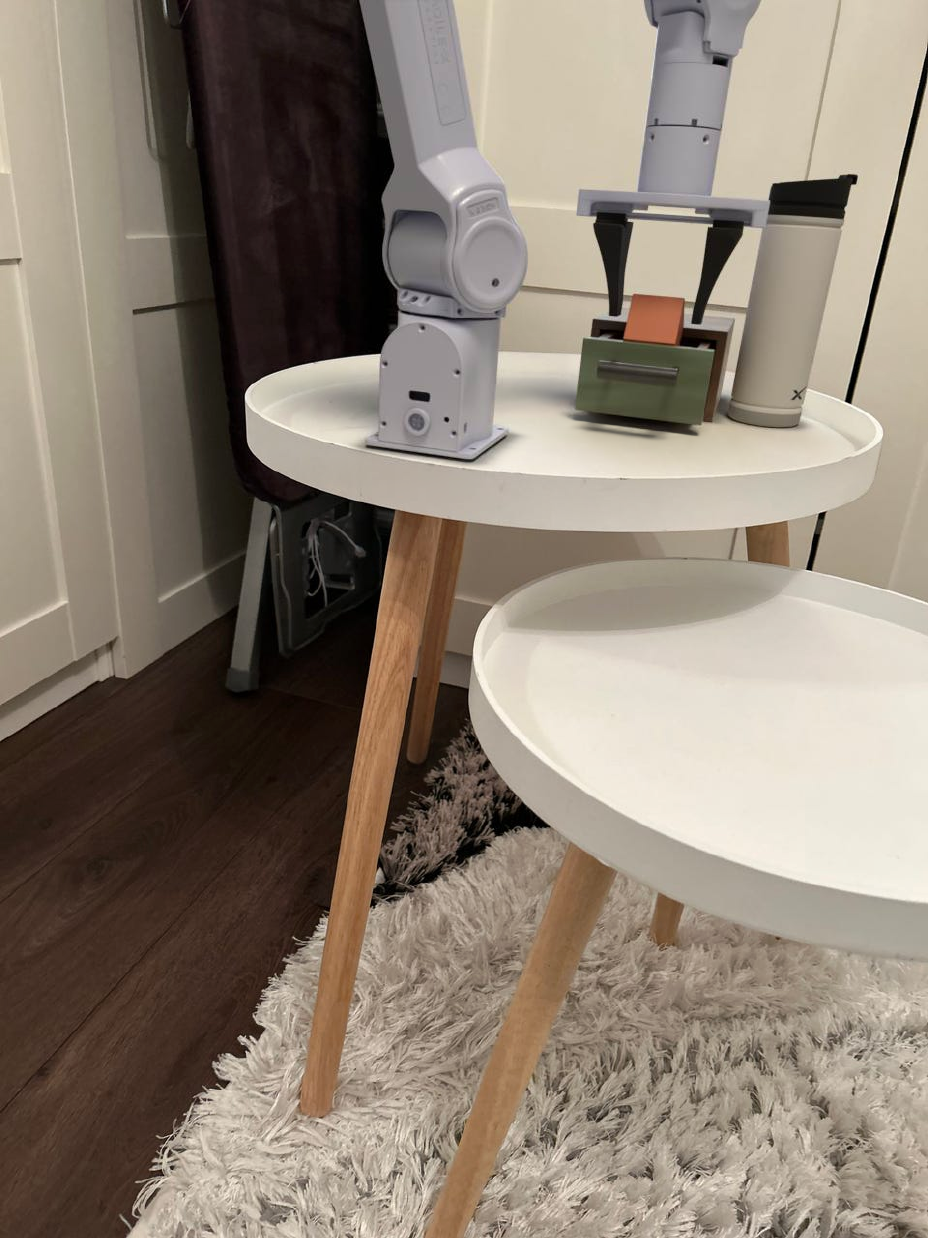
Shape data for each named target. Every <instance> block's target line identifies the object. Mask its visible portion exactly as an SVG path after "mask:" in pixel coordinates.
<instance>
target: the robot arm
mask: <svg viewBox="0 0 928 1238" xmlns="http://www.w3.org/2000/svg"><path fill="white" fill-rule="evenodd" d="M761 2H762V0H643V5H644V11H645V15H646V17H647V20H648V23H649V24H650V26H651V27H653V28H655V29H656V37H655V45H654V53H653V61H652V68H651V69H652V70H651V78H650V84H649V92H648V101H647V108H646V115H645V123H644V130H643V137H642V145H641V151H640V152H641V154H640V160H639V168H638V176H637V184H636V191H630V190H629V191H628V190H627V191H625V190H607V189H606V190H605V189H588V188H587V189H586V188H585V189H584V188H579V189H578V196H577V205H576V207H577V208H576V216H578V217H588V218H589V217H590V218H594V217H595V220H594V221H595V222H593V223H592V228H593V232H594V233H593V234H594V236H595V238H596V242H597V245H598V248H599V251H600V255H601V259H602V263H603V268H604V273H605V279H606V287H607V295H608V297H607V298H608V312H609V316H614V317H617V316H619V315H621V311H622V308H623V305H624V304H623V303H624V293H625V278H626V270H627V269H626V268H627V262H628V255H629V250H630V244H631V239H632V235H633V228H634V221H629V220H640V221H654V222H668V223H669V222H670V223H683V224H684V223H685V224H699V225H712V226H707V231H706V238H705V245H704V253H703V259H702V267H701V274H700V280H699V283H698V289H697V293H696V296H695V300H694V305H693V308H692V313H691V314H692V321H691V324H697V325H700V324H701V323H702V319H703V315H704V316H705V311H706V308H707V306H708V302H709V300H710V297H711V295H712V293H713V290H714V288H715V286H716V284H717V281H718V279H719V277H720V275H721V273H722V272H723V270H724V268H725V266H726V264H727V262H728V260H729V259H730V258H731V255H732V254H733V252H734V250H735V249H736V247H737V245H738V244H739V242H740V241H741V239H742V237H743V236H744V229H745V228H753V229H754V228H755V229H762V228H766V223H767V217H768V212H769V207H770V200H768V199H758V198H757V199H755V198H740V197H727V196H726V197H725V196H713V195H712V194H713V193H712V192H713V188H714V187H713V186H714V180H715V173H716V168H717V161H718V156H719V149H720V144H721V138H722V130H723V125H724V120H725V112H726V107H727V102H728V101H727V100H728V95H729V88H730V82H731V76H732V72H733V71H732V70H733V64H734V59H735V57H737V56H738V55H739V52H740V50H741V49H743V45H744V39H745V34H746V29H747V27H748V25H749V22H750V21H751V20H752V18H753V17H754V15H755V14H756V13H757V11H758V9H759V7H760V4H761ZM359 5H360V10H361V14H362V19H363V23H364V29H365V33H366V39H367V42H368V46H369V52H370V56H371V57H370V58H371V61H372V65H373V66H372V67H373V70H374V75H375V80H376V85H377V89H378V93H379V98H380V102H381V103H380V104H381V107H382V112H383V117H384V122H385V127H386V131H387V136H388V139H389V145H390V150H391V155H392V159H393V163H394V166H393V167H394V168H393V171H392V173H391V175H390V177H389V180H388V182H387V183H386V186H385V189H384V191H383V193H382V195H381V204H382V209H383V213H384V219H385V221H384V222H385V223H384V225H385V227H384V228H385V229H384V236H383V241H382V248H381V249H382V254H381V255H382V263H383V267H384V271H385V273H386V276H387V278H388V280H389V281H390V283H391V284H392V285H393V287H394V288H395V289H396V290H397V299H396V301H397V302H396V305H397V306H398V309H399V310H397V313H398V314H397V328H396V329H394V330H393V331H392V332H391V333H390V334H389V336H388V337H387V339H386V340H385V342H384V344H383V346H382V348H381V352H380V356H379V371H378V372H379V375H378V378H379V379H378V381H379V382H378V384H379V385H378V422H377V423H378V425H377V426H378V429H377V430H378V431H377V432H375V433H373V434H371V435H369V436H367V437H366V438H365V444H366V445H367V446H372V447H373V446H374V447H380V448H386V449H393V450H400V451H407V452H415V453H422V454H428V455H435V456H443V457H448V458H456V459H462V460H473V459H475V458H477V457H478V456H479V455H481V454H482V453H483V452H485V451H486V450H487V449H489V448H490V447H492V446H493V445H494V444H496V443H497V442H499V441H500V440H501V439H502V438H505V436H507V435H508V434H509V427H507V426H502V425H494V416H495V404H496V389H497V378H498V377H497V376H498V365H499V364H498V363H499V351H500V338H501V323H502V318H503V319H504V318H506V317H507V316H506V315H507V306H508V305H509V304H510V303H511V302H512V301H513V300H514V299H515V297H517V295H518V293H519V292H520V290H521V288H522V286H523V284H524V281H525V279H526V276H527V275H526V274H527V271H528V263H529V252H528V244H527V240H526V237H525V235H524V232H523V230H522V228H521V226H520V225H519V223H518V222H517V220H516V219H515V217H514V215H513V213H512V210H511V207H510V204H509V199H508V194H507V188H506V184H505V182H504V180H503V179H502V178H501V177H500V175H499V174H498V172H497V171H496V170H495V169H494V167H493V166H492V165H491V163H490V162H488V160H487V158H485V157H484V155H483V154H482V152H481V151H480V150H479V147H478V140H477V135H476V128H475V123H474V116H473V110H472V105H471V104H472V103H471V98H470V91H469V86H468V80H467V74H466V68H465V62H464V61H465V60H464V55H463V49H462V45H461V44H462V43H461V38H460V32H459V31H460V30H459V25H458V18H457V13H456V7H455V1H454V0H359ZM649 206H650V207H660V208H661V207H664V208H677V209H679V208H680V209H694V214H696V215H706V216H696V215H695V216H693V215H682V214H681V215H678V214H664V213H651V212H650V213H649V212H646V211H649ZM634 211H645V212H634Z"/></svg>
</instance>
